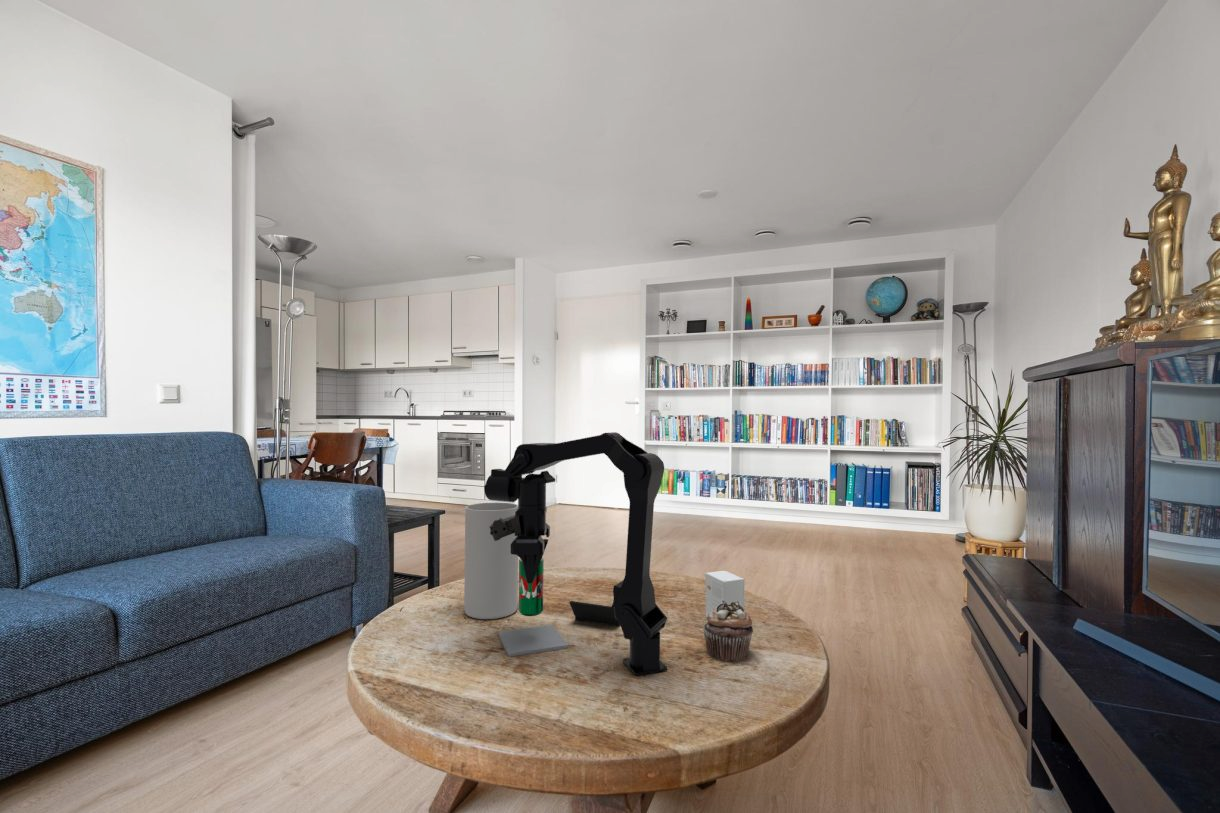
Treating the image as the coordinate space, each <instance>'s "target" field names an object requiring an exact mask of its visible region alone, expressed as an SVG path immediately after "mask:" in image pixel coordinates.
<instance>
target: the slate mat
mask: <svg viewBox="0 0 1220 813" xmlns="http://www.w3.org/2000/svg"><path fill="white" fill-rule="evenodd" d="M497 635H498V637H499V639H500V641H501V643H502V646H503V648H504V650H505V652H506V654H507V656H508V658H510V657H516V656H517V657H518V656H523V655H530V654H536V653H537V654H538V653H544V652H550V651H551V652H552V651H557V650H565V649H569V644H568V643H567V642H566V641H565V639H564V637H562V635H561V634H560V632H559V631H558V629H556V627H555V626H554V625H553V624H547V625H538V626H531V627H523V628H515V629H507V630H500V631H497Z"/></svg>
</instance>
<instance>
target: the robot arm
mask: <svg viewBox="0 0 1220 813" xmlns="http://www.w3.org/2000/svg"><path fill="white" fill-rule="evenodd" d="M603 454H604V455H606V457H607V458H608V459H609V460H610V462H611V463H612V464H613V465H614V466H615V468H616V469H618V470H619V471H620V472H621V473H623V481H624V488H625V491H626V494H627V497H628V500H629V509H628V510H629V511H628V522H627V523H628V525H627V526H628V527H627V538H626V542H627V543H626V555H625V556H626V557H625V573H624V577H623V580H621V581H620V582H618V583H616V584H615V585H613V588H612V592H613V593H612V595H613V601H612V604H611V606H610V607H611V608H614V607H615V609H614V613H615V617H616V619H617V620H618V621H619V623H620V628H621V631H622V634H623V638H624V639H625V640H629V657H626V658H622V663H624V665H625V666H626V667H627V668H628V669H629V670H630V671H631V672H632V674H634V675H635V676H641V675H647V674H648V675H649V674H652V673H658V672H659V673H660V672H665V671H667V670H668V666H667V665H666V664H665V663H663V662H662V660H661V630H662V629H664V628H665V627H666V624H667V621H668V617H667V615H666V614H665V613H664V612H663V610H661V609H660V607H659V605H658V604H657V603H656V596H655V594H656V593H655V588H654V584H653V582H652V579H651V576H650V575H651V574H650V571H651V569H650V568H651V558H652V557H651V556H652V555H651V554H652V540H653V539H652V538H653V537H652V536H653V522H654V507H655V501H656V499H657V496H658V493H659V491H660V489H661V486H662V481H663V477H664V473H665V465H664V464H665V463H664V461H663V460H662V459H661V457H659V456H658V454H656V453H653V452H647V451H646V450H645V449H643V448H642V447H640V446H639V445H637V444H635V443H633V442H632V441H630V440H628V439H626V438H625V437H624V436H623V435H621V434H620V433H619V432H617V431H616V432H614V431H613V432H604V433H602V434H598V435H594V436H589V437H583V438H578V439H573V440H567V441H562V442H556V443H555V442H536V443H534V442H533V443H522V444H520V445H518V446H517V447H516V449H515V450H514V454H513V457H512V459H511V460H510V462H509V463H508V465H507V466H506V468H505V469H502V468H493V469H491V470H490V475H489V476H488V478H487V479H486V482H485V485H484V487H483V488H484V494H485V497H486V498H487V499H488V500H489V501H494V502H505V503H515V502H516V501H517V505H518V509H517V511H516V512H515V515H514V516H511V517H508V518H505V519H502V518H500V519H499V520H495V521H494V522H493V523H492V524H491V525H490V526H489V527H490V530H491V531H490V534H491V535H492V536H493V538H494V541H497V540H500V539H501V538H502V537H505V536H508V535H511V534H513V533H515V536H517V537H516V538H515V539H514V540H513V542H512V543H511V554H513V555H517V556H518V558H519V559H520V558H521V559H522V563H523V567H524V571H525V575H526V580H527V583H533V581H534V578H535V575H536V573H537V570H538V567H539V564H540V562H541V559H542V558H543V556H544V554H545V551H546V547H547V545H548V543H549V539H546V538H550V535H551V526H550V525H549V524H548V523H547V520H546V518H547V514H546V513H547V512H548V511H547V510H548V506H547V493H546V492H547V484H549V483H550V484H551V483H555V482H556V478H555V477H554V476H553V475H552V474H550V473H549V470H545V469H548V468H550V467H553V466H555V465H557V464H559V463H561V462H564V461H568V460H573V459H580V458H585V457H590V456H597V455H603ZM542 470H544V471H542ZM536 471H540V473H535V472H536ZM523 475H526V476H525V477H523ZM542 536H545V537H546V538H543V537H542Z"/></svg>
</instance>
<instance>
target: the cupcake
mask: <svg viewBox="0 0 1220 813" xmlns="http://www.w3.org/2000/svg"><path fill="white" fill-rule="evenodd" d="M706 619H707V620H706V621H707V622H705V623H704V624H703V625H702V630H703V635H704V641H705V646H706V653H707V654H708V655H709V656H710V657H711V658H713V659H715V658H716V660H719V659H720V660H719V661H722V660H726V661H725V662H731V661H730V660H733V661H732V662H735V661H734V660H739V661H741V659H743V660H745V659H746V658H747V657H746V656H748V654H749V651H750V650H749V649H750V645H751V639H752V635H753V632H754V629H753V626H752V625H753V620H752V619H751V617H750V616H749V614H748V613H747V612H746V611H745V612H744V608H743V607H742V605H741V604H740V603H739V601H737V602H732V603H731V604H730V605H728V604H727V603H726V602H725V601H722V603H721V604H720V605H718V606H717V607H716V609H715V610H714V611H713V612H711V613H709V614H708V617H707V618H706ZM745 657H746V658H745ZM744 658H745V659H744Z"/></svg>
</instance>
